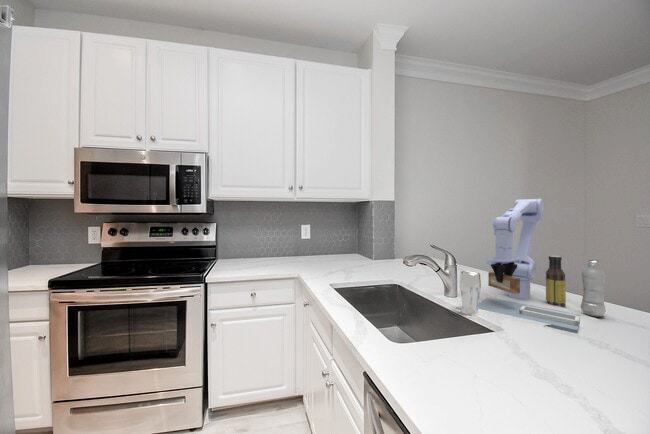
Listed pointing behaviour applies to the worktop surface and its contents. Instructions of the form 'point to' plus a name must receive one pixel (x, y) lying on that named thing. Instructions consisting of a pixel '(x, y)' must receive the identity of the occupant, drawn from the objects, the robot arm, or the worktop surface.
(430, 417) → the worktop surface
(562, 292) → the brown medicine bottle
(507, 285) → the wooden block
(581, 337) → the worktop surface
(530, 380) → the worktop surface
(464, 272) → the beer glass
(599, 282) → the plastic bottle
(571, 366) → the worktop surface
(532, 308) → the wall board
